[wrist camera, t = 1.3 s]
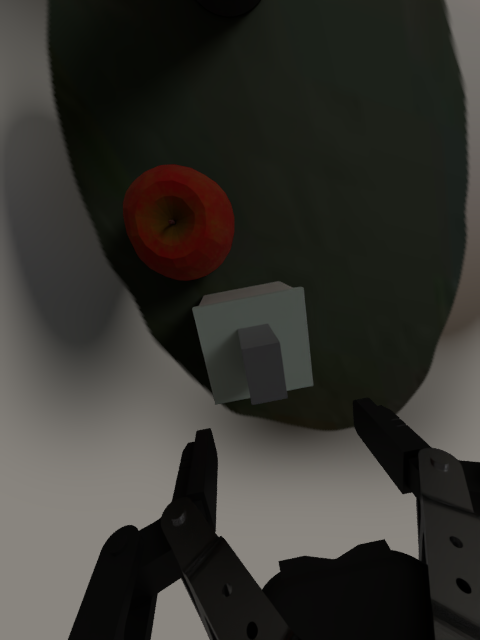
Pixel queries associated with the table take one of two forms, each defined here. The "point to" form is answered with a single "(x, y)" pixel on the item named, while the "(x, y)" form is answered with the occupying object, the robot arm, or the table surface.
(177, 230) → the apple
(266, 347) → the lid
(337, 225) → the table surface
